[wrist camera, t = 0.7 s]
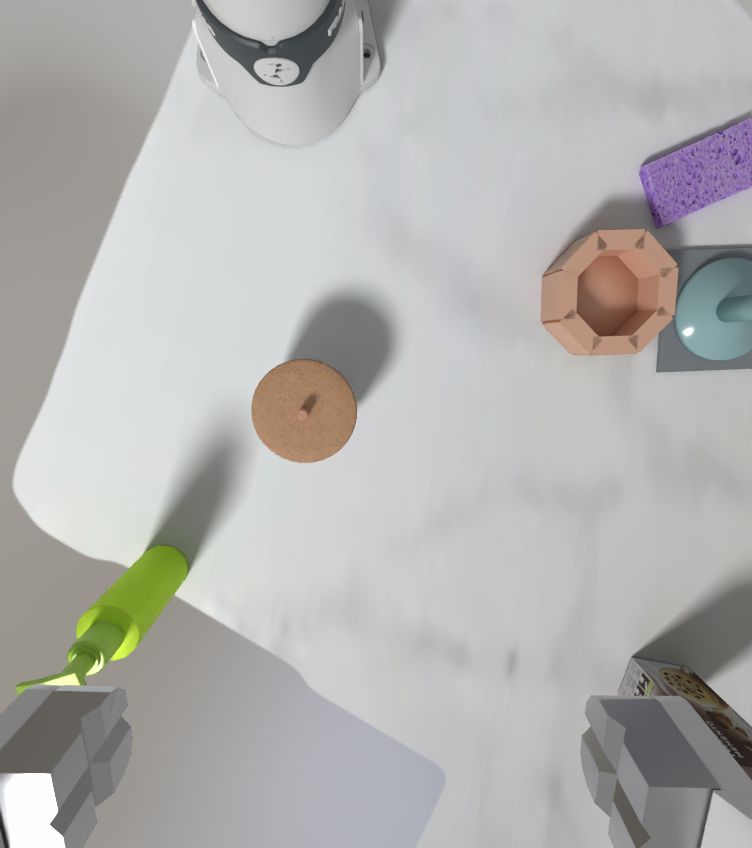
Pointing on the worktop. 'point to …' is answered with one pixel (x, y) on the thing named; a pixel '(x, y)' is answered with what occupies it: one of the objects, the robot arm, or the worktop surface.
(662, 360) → the mat
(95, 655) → the soap dispenser
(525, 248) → the worktop surface
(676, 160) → the sponges
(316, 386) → the lidded jar
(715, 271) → the lid
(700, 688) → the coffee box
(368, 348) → the worktop surface
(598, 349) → the bowl
